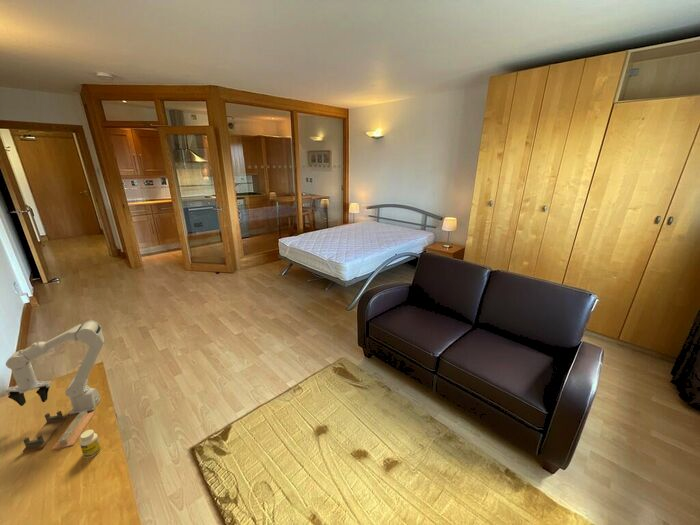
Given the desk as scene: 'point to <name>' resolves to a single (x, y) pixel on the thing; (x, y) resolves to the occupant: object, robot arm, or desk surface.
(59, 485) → the desk surface
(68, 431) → the steel rail
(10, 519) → the desk surface
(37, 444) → the hook stand
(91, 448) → the supplement bottle
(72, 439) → the mat
